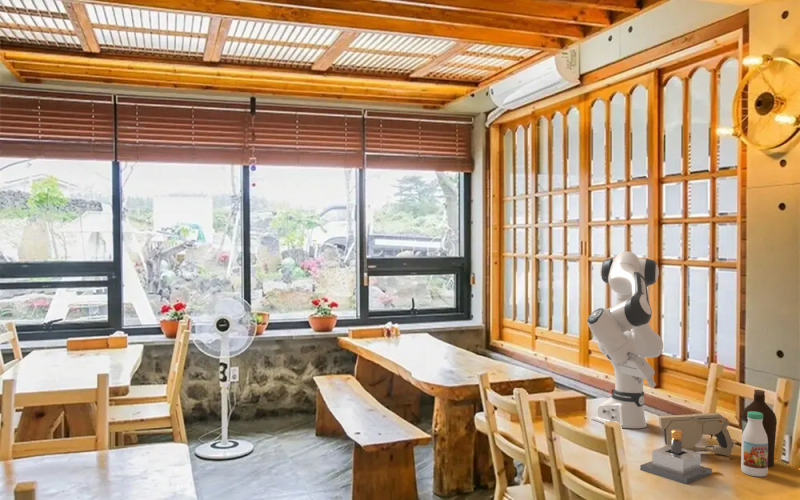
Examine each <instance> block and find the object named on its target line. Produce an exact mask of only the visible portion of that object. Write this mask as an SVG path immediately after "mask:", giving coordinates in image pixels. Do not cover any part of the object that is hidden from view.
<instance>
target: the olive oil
mask: <svg viewBox="0 0 800 500" xmlns="http://www.w3.org/2000/svg"><path fill="white" fill-rule="evenodd" d="M753 392H754V393H753V401H752V402H751V403H750V404H749V405H747V406H746V407H745V408H743V410H742V413H741V434H743V431H744V429H745V427H746V425H747V423H748V419H747V413H748V412H749V411H755V412H760V413H762V414H763V421H762V424H763V427H764V430H765V432H766V434H767V438H768V468H771V467H773V466H774V463H775V451H776V450H775V447H776V438H777V437H776V435H777V423H778V422H777V420H778V419H777V416H776V414H775V412H774V411H773V410H772V408H771V407H770V406H769V405H768V404H767V403H766V394H765V393H766V391H765V390H764V389H763V390H762V389H754V390H753Z"/></svg>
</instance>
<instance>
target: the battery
mask: <svg viewBox="0 0 800 500" xmlns="http://www.w3.org/2000/svg"><path fill="white" fill-rule="evenodd" d="M671 453H672V454H676V455H679V456H680V455H682V431H681V430H676V429H673V430H671Z"/></svg>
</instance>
